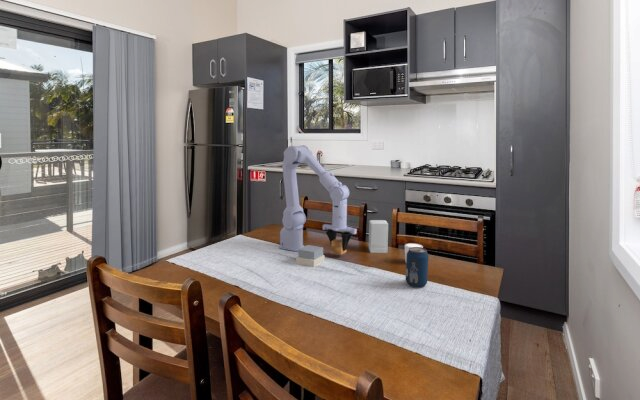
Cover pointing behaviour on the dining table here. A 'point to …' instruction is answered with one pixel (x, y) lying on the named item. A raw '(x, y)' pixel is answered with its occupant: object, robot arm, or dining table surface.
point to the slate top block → (310, 252)
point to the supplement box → (378, 236)
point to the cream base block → (310, 261)
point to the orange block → (337, 247)
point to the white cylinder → (410, 247)
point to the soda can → (417, 267)
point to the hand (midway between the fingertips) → (339, 249)
